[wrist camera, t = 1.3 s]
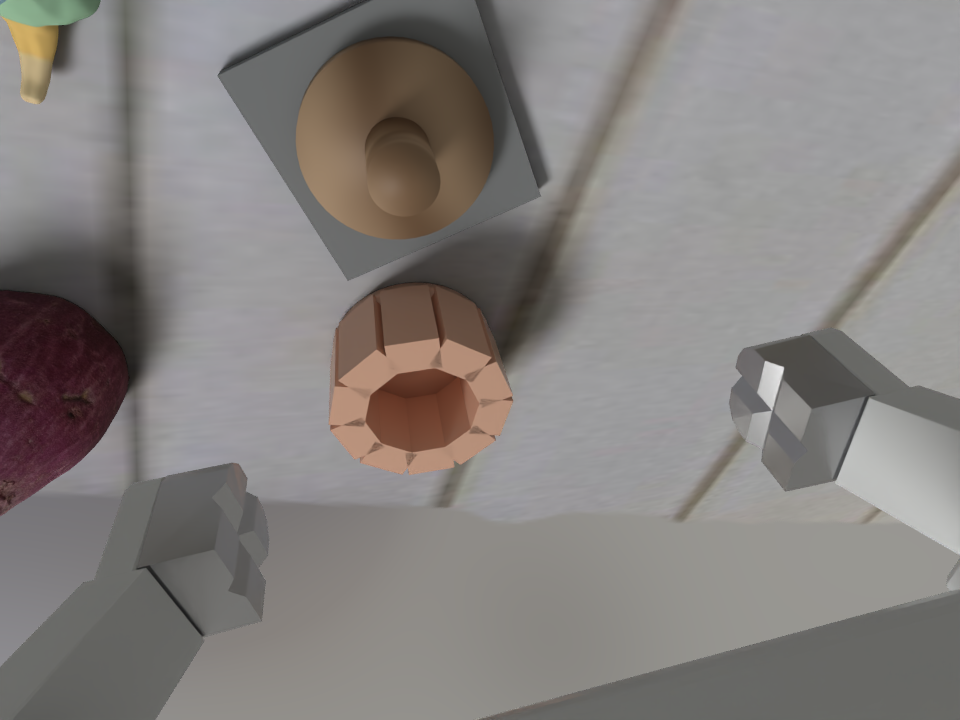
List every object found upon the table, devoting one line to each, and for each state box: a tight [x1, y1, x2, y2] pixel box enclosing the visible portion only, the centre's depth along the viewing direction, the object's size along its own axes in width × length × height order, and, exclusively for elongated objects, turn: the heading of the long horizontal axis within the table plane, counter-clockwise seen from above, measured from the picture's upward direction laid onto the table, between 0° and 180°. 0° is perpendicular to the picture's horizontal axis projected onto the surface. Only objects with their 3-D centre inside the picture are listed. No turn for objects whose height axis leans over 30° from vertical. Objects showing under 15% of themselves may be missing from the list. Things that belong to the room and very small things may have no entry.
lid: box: [296, 36, 494, 240], centre depth 28 cm, size 10×10×5 cm
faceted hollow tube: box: [329, 283, 513, 475], centre depth 37 cm, size 10×11×6 cm
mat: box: [218, 0, 541, 281], centre depth 31 cm, size 12×12×1 cm
